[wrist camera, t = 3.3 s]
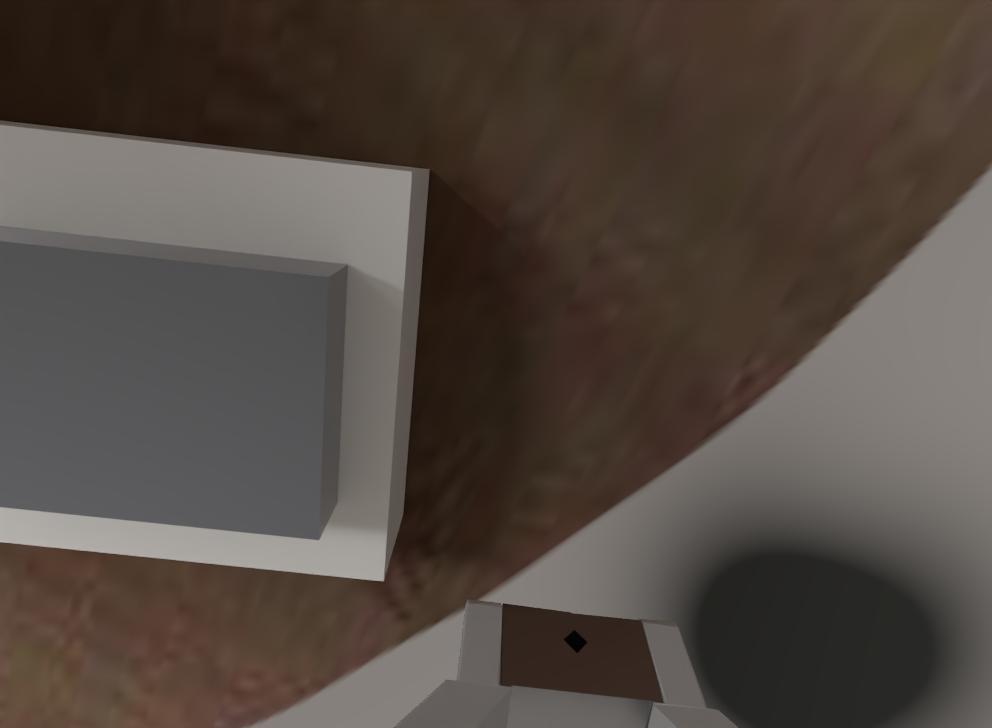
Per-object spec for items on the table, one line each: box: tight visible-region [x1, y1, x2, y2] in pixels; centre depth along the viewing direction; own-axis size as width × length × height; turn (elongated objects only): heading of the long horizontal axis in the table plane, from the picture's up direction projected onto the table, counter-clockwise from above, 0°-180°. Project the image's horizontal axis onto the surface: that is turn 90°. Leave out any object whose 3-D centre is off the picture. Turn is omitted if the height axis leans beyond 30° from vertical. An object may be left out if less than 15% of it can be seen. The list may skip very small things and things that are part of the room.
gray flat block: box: [0, 226, 348, 540], centre depth 17 cm, size 9×7×2 cm
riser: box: [0, 120, 430, 581], centre depth 20 cm, size 18×12×4 cm, turn 84°
